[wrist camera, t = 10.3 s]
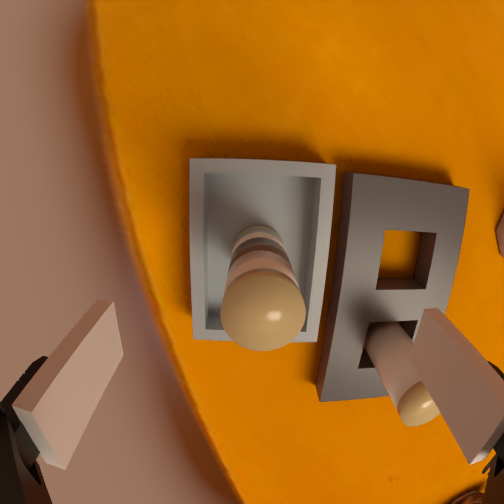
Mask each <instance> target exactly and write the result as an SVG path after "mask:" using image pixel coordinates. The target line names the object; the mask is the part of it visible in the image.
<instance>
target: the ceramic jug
mask: <svg viewBox="0 0 504 504" xmlns="http://www.w3.org/2000/svg"><path fill="white" fill-rule="evenodd" d="M483 496H484V493H481V492H478V491H476V490H472V491H470V492H468V493H466V494H464V495H462V496H460V497H459V498H457V499H455V500H454V501H453V502H452V503H451V504H481V503H482V499H483Z"/></svg>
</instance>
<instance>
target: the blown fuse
mask: <svg viewBox="0 0 504 504" xmlns="http://www.w3.org/2000/svg"><path fill="white" fill-rule="evenodd" d="M220 316H221V322H222V326H223V328H224V330H225V332H226V333H227V335H228V336H229V337H230V338H231V339H232V340H233V341H234V342H235V343H237V344H238V345H240V346H242V347H244V348H247V349H250V350H255V351H269V350H274V349H278V348H280V347H283V346H285V345H286V344H288V343H289V342H291V341H292V340H293V339H294V338H295V337H296V336H297V335H298V334H299V332H300V331H301V329H302V327H303V325H304V322H305V317H306V309H305V304H304V300H303V298H302V295H301V292H300V289H299V286H298V283H297V280H296V277H295V274H294V272H293V269H292V266H291V263H290V260H289V257H288V255H287V252H286V249H285V246H284V243H283V241H282V238H281V237H280V235H279V234H278V233H277V232H276V231H275V230H274V229H272V228H271V227H268V226H265V225H252V226H249V227H247V228H245V229H243V230H242V231H241V232H240V233H239V234H238V236H237V237H236V239H235V241H234V245H233V250H232V255H231V260H230V265H229V270H228V275H227V280H226V285H225V290H224V295H223V300H222V305H221V313H220Z"/></svg>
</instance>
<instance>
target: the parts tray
mask: <svg viewBox="0 0 504 504" xmlns="http://www.w3.org/2000/svg"><path fill="white" fill-rule="evenodd" d="M335 174H336V165H334V164H328V163H318V162H304V161H289V160H270V159H244V158H190V173H189V229H190V274H191V300H192V321H193V339H200V340H219V341H233V340H232V339H231V338H230V337H229V336H228V335H227V333H226V332H225V330H224V328H223V326H222V322H221V316H220V313H221V305H222V300H223V295H224V290H225V285H226V280H227V275H228V270H229V265H230V260H231V255H232V250H233V245H234V241H235V239H236V237H237V236H238V234H239V233H240V232H241V231H242V230H243V229H245V228H247V227H249V226H252V225H265V226H268V227H271V228H272V229H274V230H275V231H276V232H277V233H278V234H279V235H280V237H281V238H282V241H283V243H284V246H285V249H286V252H287V255H288V257H289V260H290V263H291V266H292V269H293V272H294V274H295V277H296V280H297V283H298V286H299V289H300V292H301V295H302V298H303V300H304V304H305V309H306V317H305V322H304V325H303V327H302V329H301V331H300V332H299V334H298V335H297V336H296V337H295V338H294V339H293V340H292V341H291V342H317V336H318V330H319V323H320V316H321V309H322V302H323V295H324V287H325V279H326V271H327V262H328V253H329V244H330V234H331V224H332V213H333V201H334V188H335Z"/></svg>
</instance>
